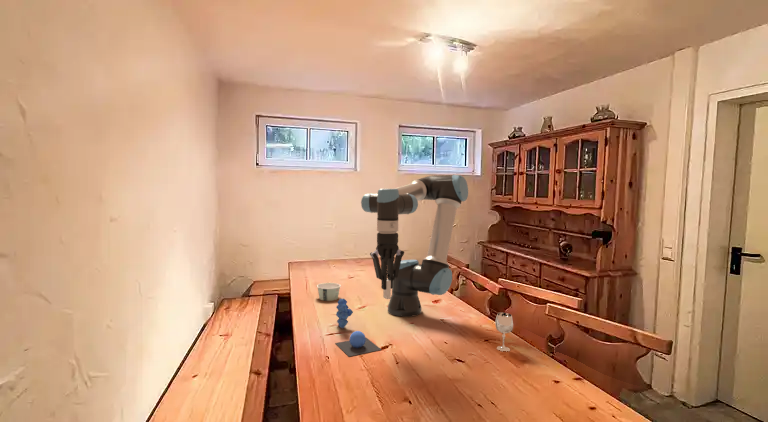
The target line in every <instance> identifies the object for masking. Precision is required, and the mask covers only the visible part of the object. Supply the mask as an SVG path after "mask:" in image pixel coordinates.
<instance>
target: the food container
mask: <svg viewBox="0 0 768 422" xmlns="http://www.w3.org/2000/svg"><path fill="white" fill-rule="evenodd" d="M316 287H317V292H318V298H319V300H321V301H323V302H324V301H325V302H331V301H336V300H338V299H339V295H340V289H341V287H342V285H341V284H340V283H337V282H322V283H318V284H317V285H316Z"/></svg>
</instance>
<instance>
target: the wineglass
mask: <svg viewBox="0 0 768 422" xmlns="http://www.w3.org/2000/svg"><path fill="white" fill-rule="evenodd" d="M513 327H514V321H513V315H512V314H510V313H509V312H508V313H507V312H498V313H497V315H496V317H495V329H496V331H498V332H499V333H501V334H502V335H501V337H502V345H498V346H497V347H496V350H498V351H499V350H500V352H503V351H506V352H507V351H508V352H510V351H511V349H510V348H509V347H508V346H506V345H505V338H506V334H509V333H511V332H512V331H513ZM506 352H505V353H506Z"/></svg>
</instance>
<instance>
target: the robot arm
mask: <svg viewBox="0 0 768 422" xmlns="http://www.w3.org/2000/svg"><path fill="white" fill-rule="evenodd" d="M468 197H469V185H468V182H467V180H466V178H465V176H463V175H461V174H446V175H445V174H443V175H441V174H439V175H437V174H435V175H433V174H432V175H429V176H427V175H426V176H425V177H421V178H418V179H415V180H412V181H411V182H410V183H409V184H405V185H400V186H398V187H394V188H379V189H378V190H377V192H376V193H365V194H364V195H363V196H362V197H361V201H360V204H361V208H362V210H363V211H364V212H366V213H371V214H373V213H375V214H377V218H376V231H377V233H376V248H375V250H374V251H373V252H370V253H369V255H370V257H371V259H372V262H373V267H374V272H375V276H376V278H377V279H379V280H380V281H381V290H382V291H383V294H382V295H383V299H386V300H389V301H388V305H387V313H389V315H393V316H397V317H403V318H404V317H405V318H407V317H416V316H418V315H420V314H422V305H421V301H420V298H419V292H421V293H426V294H429V295H433V296H434V295H438V296H443V295H445V294H446V293H447V292H448V291H449V289H450V288H451V285H452V282H453V271H452V270H451V268H450V264H449V263H448V260H447V259H448V254H449V250H450V243H451V239H452V234H453V231H454V229H453V228H454V225H455V220H456V214H457V209H459V208H460V207H461V206H462V205H461V204H462V202H465V201H466V200H468ZM424 200H426V201H427V200H428V201H434V202H435V204H436V205H437V206H436V212H435V216H434V221H433V226H432V229H431V230H432V231H431V235H430V236H431V237H430V240H429V244H428V250H427V253H426V256H425V257H424V258H423V259H422V261H421V264H420V262H419V260H417V259H402V258H403V256H404V255H405V251H403V250H401V249H400V247H399V245H398V243H399V234H398V232H399V215H410V214H413V213H415V212H416V211H417V210H418V205H419V201H424ZM379 257H380V260H379Z"/></svg>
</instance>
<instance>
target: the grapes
mask: <svg viewBox="0 0 768 422" xmlns="http://www.w3.org/2000/svg"><path fill="white" fill-rule="evenodd" d="M336 310H337V311H336V314H335V316H336V317H337V318H338V319H337V321H336V323H337V324H338V327H340V328H341V329H344V328H345V327H346V326H347V325H348V324H349V321H348V318H349V317H351V316H352V315H353V312H354V311H353V310H352V309H351V308H349V305H348V301H347V300H346V299H345V298H339V300H338V301H337V305H336Z"/></svg>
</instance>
